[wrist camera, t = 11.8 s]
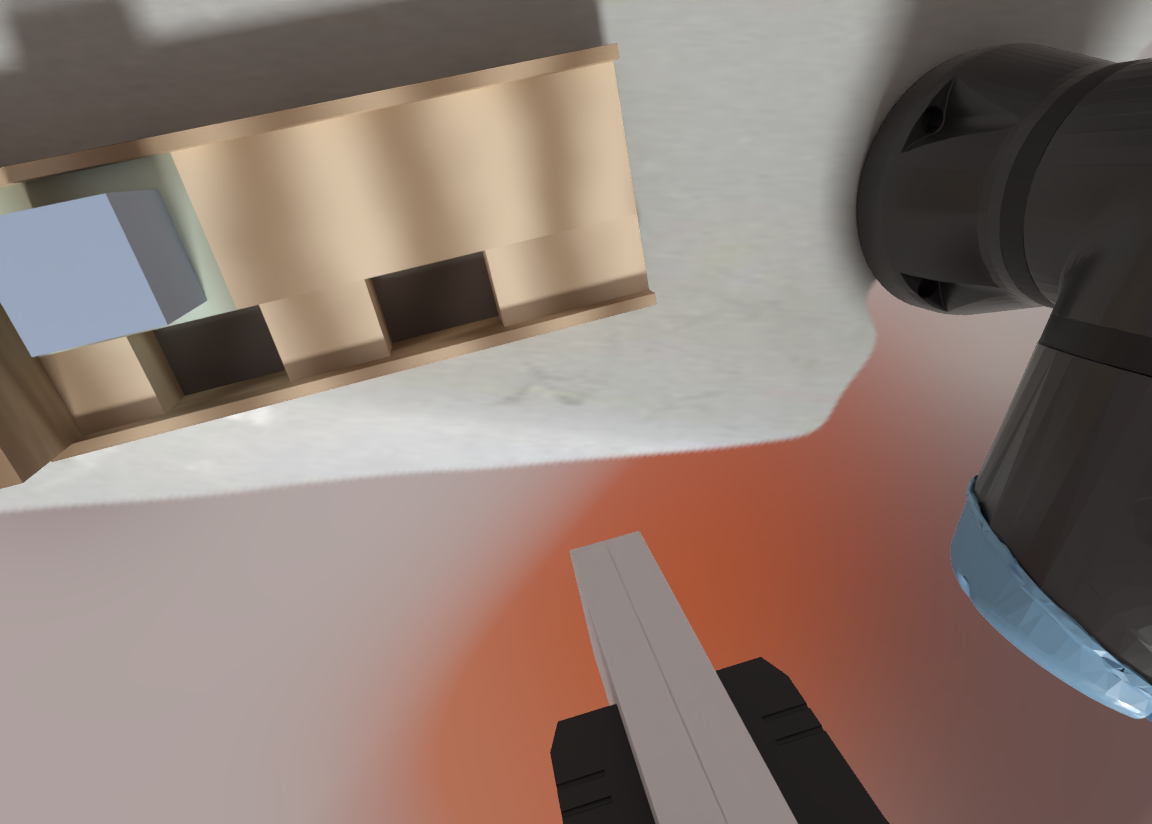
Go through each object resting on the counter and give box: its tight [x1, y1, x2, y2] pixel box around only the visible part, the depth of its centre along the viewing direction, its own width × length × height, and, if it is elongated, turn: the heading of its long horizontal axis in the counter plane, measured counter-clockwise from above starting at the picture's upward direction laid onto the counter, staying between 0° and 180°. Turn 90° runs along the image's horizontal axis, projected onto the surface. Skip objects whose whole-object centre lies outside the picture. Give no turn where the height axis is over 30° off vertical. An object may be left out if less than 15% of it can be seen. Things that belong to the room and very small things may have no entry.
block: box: [0, 189, 207, 357], centre depth 26 cm, size 5×5×5 cm
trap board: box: [0, 43, 657, 489], centre depth 29 cm, size 30×12×8 cm, turn 102°
